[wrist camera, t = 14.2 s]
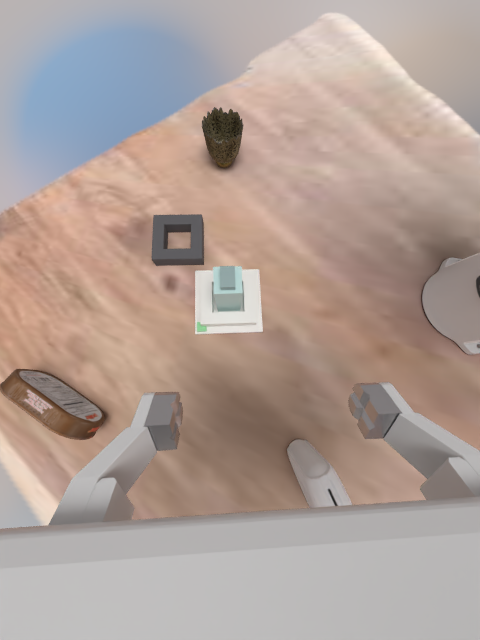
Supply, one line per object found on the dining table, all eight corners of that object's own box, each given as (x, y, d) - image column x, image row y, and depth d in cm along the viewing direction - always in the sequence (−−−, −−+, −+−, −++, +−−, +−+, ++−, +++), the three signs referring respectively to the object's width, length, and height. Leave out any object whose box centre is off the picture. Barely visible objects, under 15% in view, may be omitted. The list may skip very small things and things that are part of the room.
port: (258, 270, 43) (260, 263, 40) (262, 332, 41) (264, 329, 38) (195, 272, 43) (193, 265, 40) (195, 334, 40) (192, 331, 38)
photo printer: (333, 498, 36) (385, 565, 24) (309, 510, 35) (349, 585, 23) (305, 434, 38) (339, 465, 26) (282, 445, 37) (306, 482, 25)
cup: (244, 152, 49) (247, 111, 41) (237, 180, 47) (238, 143, 40) (211, 145, 49) (207, 102, 41) (202, 172, 48) (197, 134, 40)
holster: (203, 222, 45) (201, 214, 43) (203, 264, 43) (202, 258, 41) (157, 223, 45) (153, 215, 42) (156, 265, 43) (151, 259, 40)
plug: (239, 289, 42) (241, 262, 31) (240, 310, 41) (243, 290, 30) (217, 290, 42) (212, 263, 31) (218, 311, 41) (212, 291, 30)
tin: (34, 381, 38) (-21, 384, 30) (47, 365, 39) (-3, 364, 30) (104, 432, 37) (68, 451, 29) (117, 415, 37) (84, 428, 29)
